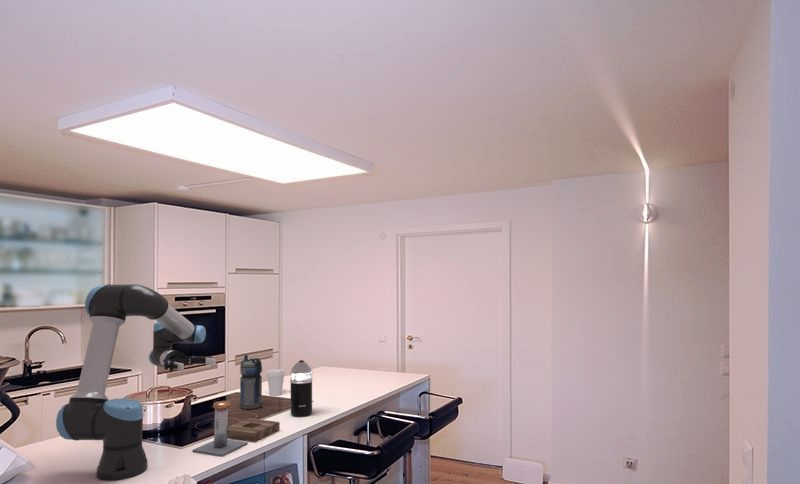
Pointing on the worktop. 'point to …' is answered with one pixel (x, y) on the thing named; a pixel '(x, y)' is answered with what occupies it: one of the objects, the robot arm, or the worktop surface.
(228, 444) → the rubber pad
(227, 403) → the steel plug
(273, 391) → the foam cup
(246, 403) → the beverage bottle
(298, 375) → the black coffee grinder
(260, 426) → the bore block
